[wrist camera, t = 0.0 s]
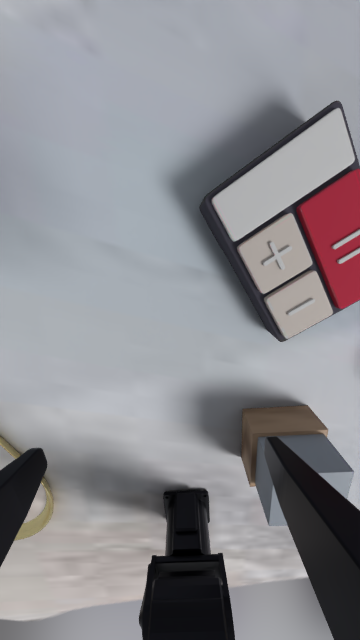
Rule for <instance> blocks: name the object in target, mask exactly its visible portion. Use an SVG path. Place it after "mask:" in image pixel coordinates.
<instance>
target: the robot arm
mask: <svg viewBox="0 0 360 640" xmlns="http://www.w3.org/2000/svg"><path fill="white" fill-rule="evenodd" d="M264 455H265V459H266V463H267V466H268V469H269V472H270V476H271V479H272V482H273V485H274V489H275V492H276V495H277V498H278V501H279V504H280V507H281V510H282V512H283V515H284V517H285V520H286V522H287V525H288V527H289V530H290V532H291V535H292V537H293V540H294V542H295V545H296V547H297V549H298V552H299V554H300V557H301V559H302V562H303V564H304V567H305V569H306V572H307V574H308V576H309V579H310V581H311V584H312V586H313V589H314V591H315V594H316V596H317V599H318V601H319V603H320V606H321V608H322V611H323V613H324V616H325V618H326V621H327V623H328V626H329V628H330V630H331V633H332V636H333V638H334V640H360V511H359V510H358V509H357V508H356V507H355V506H354V505H353V504H352V503H350V502H349V501H348V500H347V499H346V498H345V497H344V496H343V495H342V494H340V493H339V492H338V491H337V490H336V489H335V488H334V487H333V486H332V485H330V484H329V483H328V482H327V481H326V480H325V479H324V478H323V477H322V476H320V475H319V474H318V473H317V472H316V471H315V470H314V469H313V468H312V467H310V466H309V465H308V464H307V463H306V462H305V461H304V460H303V459H302V458H300V457H299V456H298V455H297V454H296V453H295V452H294V451H293V450H292V449H290V448H289V447H288V446H287V445H286V444H285V443H284V442H283V441H282V440H280V439H279V438H278V437H277V436H267V437H266V438H265V448H264ZM46 469H47V460H46V457H45V454H44V451H43V449H42V448H31V449H29V450H28V451H26V452H25V453H23V454H22V455H21V456H19V457H18V458H17V459H15V460H14V461H13V462H11V463H10V464H8V465H7V466H6V467H4V468H3V469H2V470H0V567H1V565H2V563H3V561H4V559H5V557H6V555H7V553H8V551H9V549H10V547H11V545H12V543H13V541H14V540H15V538H16V536H17V534H18V532H19V530H20V528H21V526H22V524H23V522H24V520H25V518H26V516H27V513H28V511H29V509H30V507H31V504H32V502H33V500H34V497H35V495H36V493H37V490H38V488H39V486H40V483H41V481H42V478H43V476H44V474H45V471H46ZM163 499H164V506H165V513H166V520H167V533H166V552H165V556H157V555H152V560H151V563H150V564H149V565H148V573H147V582H146V588H145V593H144V597H143V601H142V606H141V610H140V615H139V624H140V626H141V628H142V637H143V640H235V635H234V626H233V617H232V610H231V603H230V596H229V590H228V584H227V578H226V572H225V566H224V559H223V553H218V554H211V550H210V540H209V530H208V523H209V522H210V518H209V496H208V491H206V490H202V491H180V492H165V493H164V496H163Z"/></svg>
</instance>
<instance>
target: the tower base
mask: <svg viewBox="0 0 360 640" xmlns="http://www.w3.org/2000/svg"><path fill="white" fill-rule="evenodd" d="M310 434H324V435H325V436H326V437H327V434H328V429H327V428H326V426H325V425H324V424H323V423H322V422H321V421H320V419H319V418H318V417H317V416H316V415H315V414H314V412H313V411H312V410H311V409H310V408H309V406H308V405H306V406H287V407H269V408H250V409H243V412H242V449H241V458H242V461H243V464H244V468H245V471H246V474H247V478H248V481H249V484H250V487H253V486H256V485H255V474H256V458H257V442H258V437H267V436H288V435H310Z"/></svg>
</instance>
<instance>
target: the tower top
mask: <svg viewBox="0 0 360 640" xmlns="http://www.w3.org/2000/svg"><path fill="white" fill-rule="evenodd" d="M277 437H278V438H279V439H280V440H282V441H283V442H284V443H285V444H286V445H287V446H288V447H289V448H290V449H292V450H293V451H294V452H295V453H296V454H297V455H298V456H299V457H300V458H302V459H303V460H304V461H305V462H306V463H307V464H308V465H309V466H310V467H312V468H313V469H314V470H315V471H316V472H317V473H318V474H319V475H320V476H322V477H323V478H324V479H325V480H326V481H327V482H328V483H329V484H330V485H332V486H333V487H334V488H335V489H336V490H337V491H338V492H339V493H340V494H342V495H343V496H344V497H345V498H346V499H347V497H348V493H349V489H350V486H351V482H352V478H353V474H354V471H353V470H352V468H351V467H350V466H349V465H348V463H347V462H346V461H345V460H344V458H343V457H342V456H341V455H340V453H339V452H338V451H337V450H336V448H335V447H334V446H333V445H332V443H331V442H330V441H329V440H328V439H327V437H326V436H325V435H324V434H310V435H288V436H277ZM265 438H266V437H258V442H257V458H256V474H255V485H256V488H257V491H258V494H259V497H260V500H261V503H262V506H263V509H264V513H265V516H266V519H267V522H268V525H269V526H285V525H287V522H286V520H285V517H284V515H283V512H282V510H281V507H280V504H279V501H278V498H277V495H276V492H275V489H274V485H273V482H272V479H271V476H270V472H269V469H268V466H267V463H266V459H265V455H264V448H265Z"/></svg>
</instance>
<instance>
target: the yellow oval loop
mask: <svg viewBox="0 0 360 640" xmlns="http://www.w3.org/2000/svg"><path fill="white" fill-rule="evenodd" d="M0 445H1V446H2V447H3V448H4V449H5V450H6V451H7V452H9V453H10V454H11V455H12V456H13V457H14V458H15V459H17V458H18V457H19V456H21V455H20V454H19V453H18V452H17V451H16V450H15V449H14V448H13V447H12V446H11V445H10V444H9V443H8V442H6V441H5V440H4V439H3V438H2V437H1V436H0ZM41 484H42V485H43V487H44V488H45V490H46V495H47V502H46V506H45V508H44V510H43V511H42V513H41V514H40V515H39V516H38V517H36V518H35V519H33V520H31V521H29V522H27V523H23V524H22V526H21V528H20V530H19V532H18V534H17V536H16V538H15V540H20V539H24V538H27V537H30V536H32V535H34V534H36V533H38V532H39V531H41V530H42V529H43V528H44V527H45V526H46V525H47V524H48V522H49V520H50V519H51V516H52V513H53V506H54V504H53V496H52V492H51V489H50V487H49V485H48V483H47V481H46V480H45V478H44V477H43V478H42V481H41Z"/></svg>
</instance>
